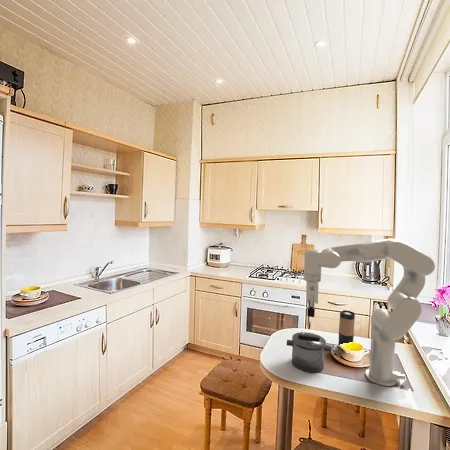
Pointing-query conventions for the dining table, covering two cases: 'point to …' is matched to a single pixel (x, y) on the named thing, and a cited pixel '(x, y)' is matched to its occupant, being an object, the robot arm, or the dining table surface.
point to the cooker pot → (308, 358)
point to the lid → (308, 341)
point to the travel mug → (346, 326)
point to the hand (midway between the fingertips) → (310, 316)
